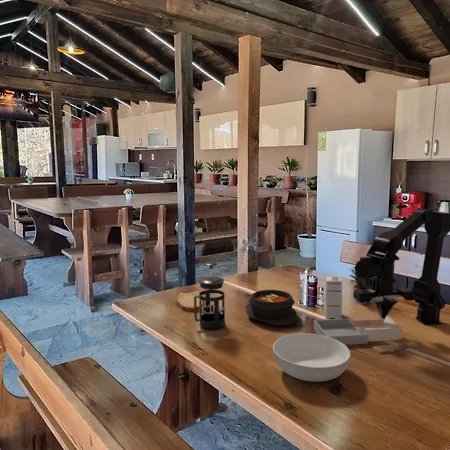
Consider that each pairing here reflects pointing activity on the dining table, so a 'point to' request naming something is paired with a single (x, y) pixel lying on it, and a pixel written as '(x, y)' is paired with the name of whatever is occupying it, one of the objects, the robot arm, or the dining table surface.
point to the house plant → (358, 284)
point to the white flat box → (382, 331)
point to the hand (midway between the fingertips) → (382, 319)
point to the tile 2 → (374, 319)
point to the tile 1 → (358, 320)
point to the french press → (212, 310)
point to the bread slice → (188, 301)
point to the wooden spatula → (394, 347)
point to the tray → (340, 331)
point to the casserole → (272, 307)
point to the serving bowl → (311, 356)
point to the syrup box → (333, 297)
